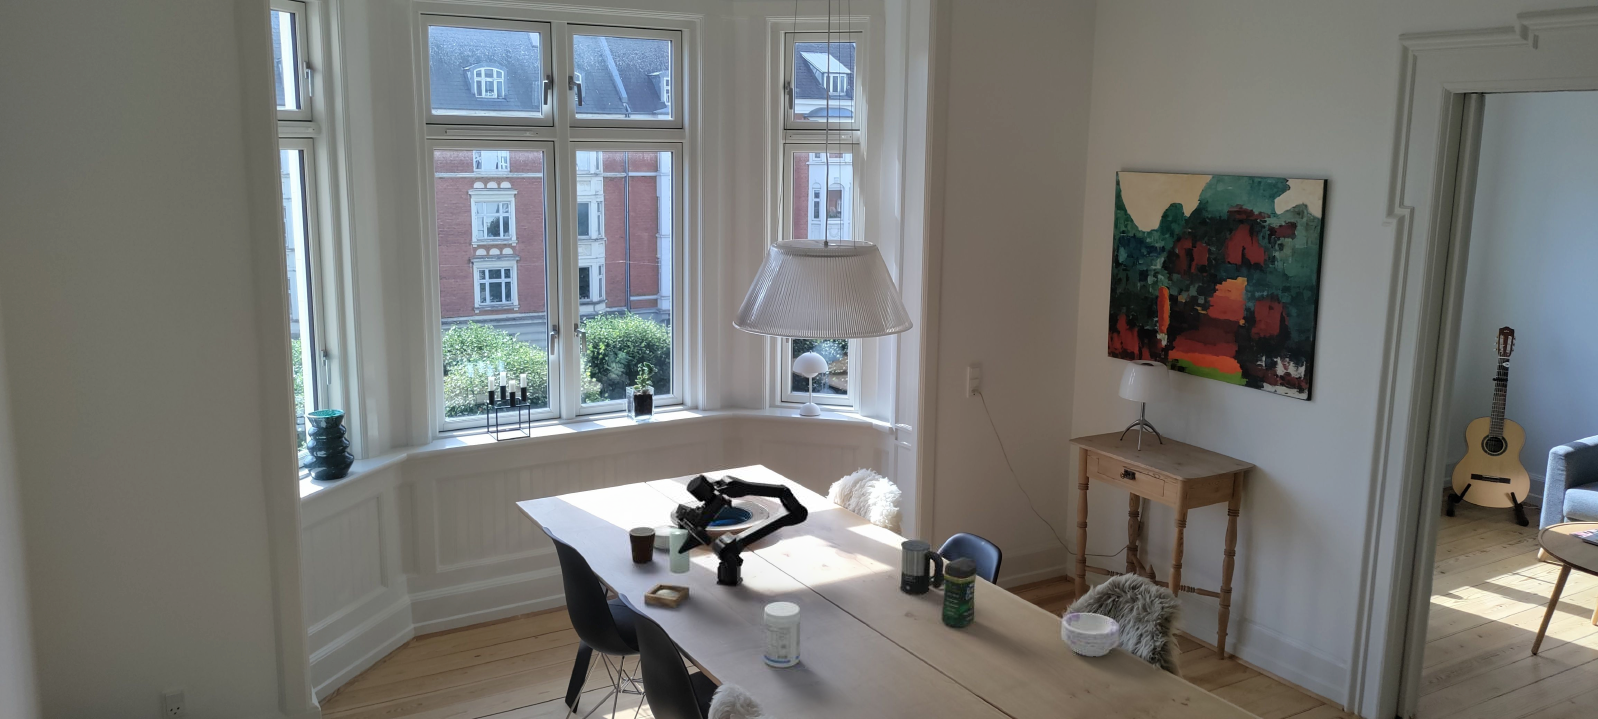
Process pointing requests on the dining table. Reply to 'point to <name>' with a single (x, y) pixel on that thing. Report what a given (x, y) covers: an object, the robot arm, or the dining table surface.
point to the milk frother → (920, 567)
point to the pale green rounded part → (678, 561)
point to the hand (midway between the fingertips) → (675, 549)
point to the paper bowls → (1090, 633)
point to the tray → (666, 595)
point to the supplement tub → (781, 634)
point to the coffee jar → (959, 592)
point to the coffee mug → (642, 544)
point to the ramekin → (663, 536)
